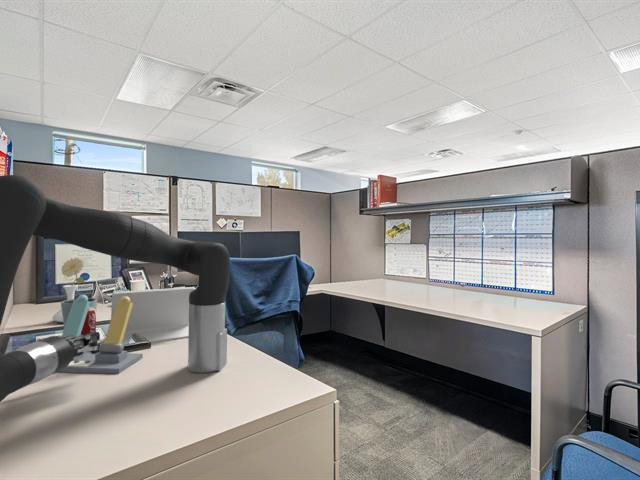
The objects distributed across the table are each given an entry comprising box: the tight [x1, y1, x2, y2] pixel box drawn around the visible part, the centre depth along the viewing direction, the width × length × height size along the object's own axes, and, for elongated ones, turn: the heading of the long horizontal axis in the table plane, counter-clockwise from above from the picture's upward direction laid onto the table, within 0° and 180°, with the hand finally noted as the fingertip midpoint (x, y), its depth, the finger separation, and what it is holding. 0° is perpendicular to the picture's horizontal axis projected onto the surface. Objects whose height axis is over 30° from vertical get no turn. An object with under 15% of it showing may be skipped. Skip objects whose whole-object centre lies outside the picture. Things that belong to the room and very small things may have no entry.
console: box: [57, 350, 143, 374], centre depth 94 cm, size 23×11×3 cm, turn 89°
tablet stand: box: [110, 286, 196, 344], centre depth 121 cm, size 18×25×17 cm
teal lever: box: [60, 294, 90, 337], centre depth 97 cm, size 5×3×16 cm, turn 89°
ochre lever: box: [98, 296, 133, 353], centre depth 96 cm, size 5×3×16 cm, turn 89°
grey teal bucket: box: [60, 297, 98, 328], centre depth 119 cm, size 10×10×12 cm
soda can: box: [80, 307, 97, 335], centre depth 107 cm, size 5×5×12 cm
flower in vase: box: [52, 257, 85, 323], centre depth 137 cm, size 13×11×25 cm
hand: (96, 335), depth 87 cm, fingers closed
